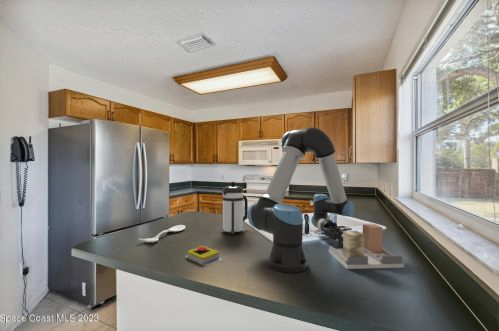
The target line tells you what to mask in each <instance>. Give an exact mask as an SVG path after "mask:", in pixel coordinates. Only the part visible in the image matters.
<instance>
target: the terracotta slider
mask: <svg viewBox="0 0 499 331" xmlns="http://www.w3.org/2000/svg"><path fill="white" fill-rule="evenodd" d="M362 234H364V247H365V248H366V249H368V250H369V251H371V252H382V248H383V227H382V226H380V225H378V224H376V223H373V224H372V223H370V224H362Z"/></svg>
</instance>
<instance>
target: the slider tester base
mask: <svg viewBox="0 0 499 331" xmlns="http://www.w3.org/2000/svg"><path fill="white" fill-rule="evenodd" d="M328 253H329V254H330V255H331V256H333V257H334V258H335V259H336V261H338V262H339V263H340V264H341V265H342V266H343V267H344V268H345V269H346V270H351V269H352V270H354V269H357V270H359V269H364V270H365V269H398V268H399V269H401V268H405V264H404V263H403V255H396V254H394V253H392V252H390V251H388V250H387V249H385V248H384V247H382V252H371V251H369V250H368V249H366V248H365V247H364V256H347V258H345V257H344V256H343V248H335V247H333V245H328Z"/></svg>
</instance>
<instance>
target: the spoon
mask: <svg viewBox="0 0 499 331" xmlns="http://www.w3.org/2000/svg"><path fill="white" fill-rule="evenodd" d="M185 229H186V225H184V224H177V225H175V226H172V227H170V228H168V229H165V230H162V231H161V232H158V234H157V235H155V236H154V237H149V238H138V239H137V241H139V242H143V243H155V242H158V241H159V238H160V237H161V236H162V235H163V234H166V233H168V232H169V233H170V232H171V233H178V232H181V231H183V230H185Z"/></svg>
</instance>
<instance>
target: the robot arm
mask: <svg viewBox="0 0 499 331" xmlns="http://www.w3.org/2000/svg"><path fill="white" fill-rule="evenodd" d="M280 144H281V152H282V156H281V158H280V159H279V162H278V165H277V167H276V169H275V171H274V173H273V175H272V177H271V180H270V182H269V184H268V186H267V188H266V190H265V193H264V194H263V195H260V196H259V198H258V201H256V202H254V203H252V204H250V206H248V207H249V208H248V214H247V219H248V222H249V224H250V225H251V227H253V228H254V229H257V230H258V231H262V232H265V233H268V234H271V235H272V246H271V250H270V253H269V255H268V266H269V267H270V268H271V269H273V270H275V271H278V272H282V273H287V274H295V273H296V274H297V273H301V272H303V271H305V270H306V269H307V268H308V267H307V266H308V260H307V257H306V253H305V250H304V246H303V230H304V229H303V228H304V227H303V225H304V223H303V222H304V218H303V212H302V209H301V208H300V207H298V206H296V205H293V204H286V203H282V202H283V200H284V199H285V198H284V197H285V196H286V193H287V190H288V188H289V185H290V184H291V181H292V178H293V176H294V174H295V172H296V170H297V166H298V165H299V162H300V161H302V160H303V159H304V158H305V156H306V154H307V153H310V152H311V153H312V154H313V155H314V158H315V159H317V160H318V163H319V167H320V169H321V173H322V175H323V176H322V177H323V179H324V183H325V185H326V188H327V189H326V190H327V192H328V194H329V197H330V198H328V195H327V194H324V193H315V194H314V195H313V202H312V203H313V214H312V216H311V218H310V220H311V224H312V225H313V227H315V228H316V229H318V230H319V231H320V234H321V235H323V236H325V237H328V238H330V239H332V240H334V241H336V240H337V242H338V243H342V242H343V231H348V230H347V228H342V229H341V228H340V227H339V226H337V224H336V223H335V222H334V221H332V220H331V219H328V214H333V215H338V216H342V217H352V216H353V215H354V213H355V209H356V208H355V207H356V205H355V204H354V203H353V202H352V201H350V200H348V197H347V195H346V191H345V188H344V187H345V186H344V185H343V181H342V178H341V177H342V176H341V174H340V170H339V168H338V164H337V161H336V156H335V153H336V149H335V146H334V144H333V141H332V139H331V138H330V136H329V135H328V134H327V133H326V132H325V131H324V130H322V129H320V128H318V127H314V126H313V127H304V128H300V129H299V128H298V129H292V130H288V131H287V132H284V134H283V136H282V137H281V140H280Z"/></svg>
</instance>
